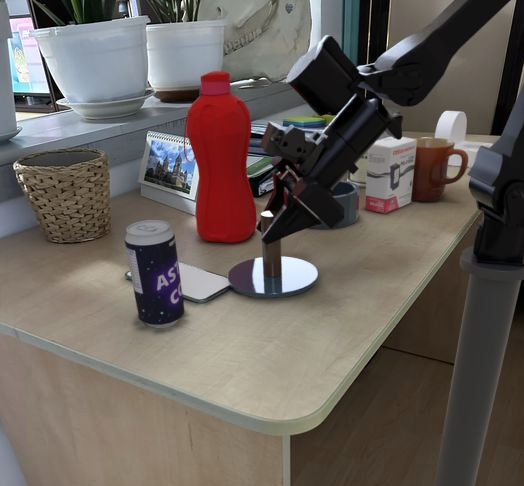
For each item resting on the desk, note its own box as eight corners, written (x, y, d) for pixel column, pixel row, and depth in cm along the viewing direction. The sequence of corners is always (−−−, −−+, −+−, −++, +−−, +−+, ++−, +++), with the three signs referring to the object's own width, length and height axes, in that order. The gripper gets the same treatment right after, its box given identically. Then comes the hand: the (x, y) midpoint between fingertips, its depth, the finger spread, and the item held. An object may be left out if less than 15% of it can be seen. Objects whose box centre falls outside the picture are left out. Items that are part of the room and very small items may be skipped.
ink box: (385, 214, 98) (390, 146, 92) (363, 209, 101) (366, 143, 95) (411, 203, 103) (418, 137, 97) (389, 198, 106) (394, 134, 100)
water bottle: (204, 224, 98) (188, 69, 85) (262, 228, 95) (254, 67, 82) (182, 242, 91) (161, 75, 78) (244, 247, 88) (233, 74, 74)
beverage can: (165, 335, 64) (149, 238, 58) (130, 324, 67) (111, 231, 61) (194, 315, 69) (183, 222, 62) (160, 305, 71) (146, 216, 65)
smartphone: (240, 284, 76) (161, 259, 84) (240, 280, 76) (160, 256, 84) (202, 305, 71) (121, 277, 79) (201, 302, 70) (120, 273, 79)
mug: (392, 199, 106) (396, 144, 100) (415, 188, 111) (420, 135, 106) (449, 210, 99) (457, 151, 93) (471, 198, 104) (480, 142, 99)
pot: (362, 210, 101) (364, 180, 98) (350, 231, 92) (352, 199, 89) (302, 206, 104) (302, 178, 102) (285, 226, 95) (284, 195, 92)
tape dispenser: (421, 151, 139) (425, 106, 133) (492, 159, 129) (500, 110, 123) (403, 159, 133) (408, 112, 127) (476, 168, 123) (485, 117, 117)
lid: (327, 267, 79) (328, 201, 74) (304, 306, 69) (304, 233, 64) (246, 260, 83) (242, 197, 78) (214, 296, 73) (207, 226, 68)
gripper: (283, 87, 72) (208, 179, 77) (318, 106, 56) (222, 220, 61) (339, 144, 77) (265, 227, 82) (385, 177, 61) (291, 277, 66)
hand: (261, 236), depth 72 cm, fingers open, 4 cm apart
